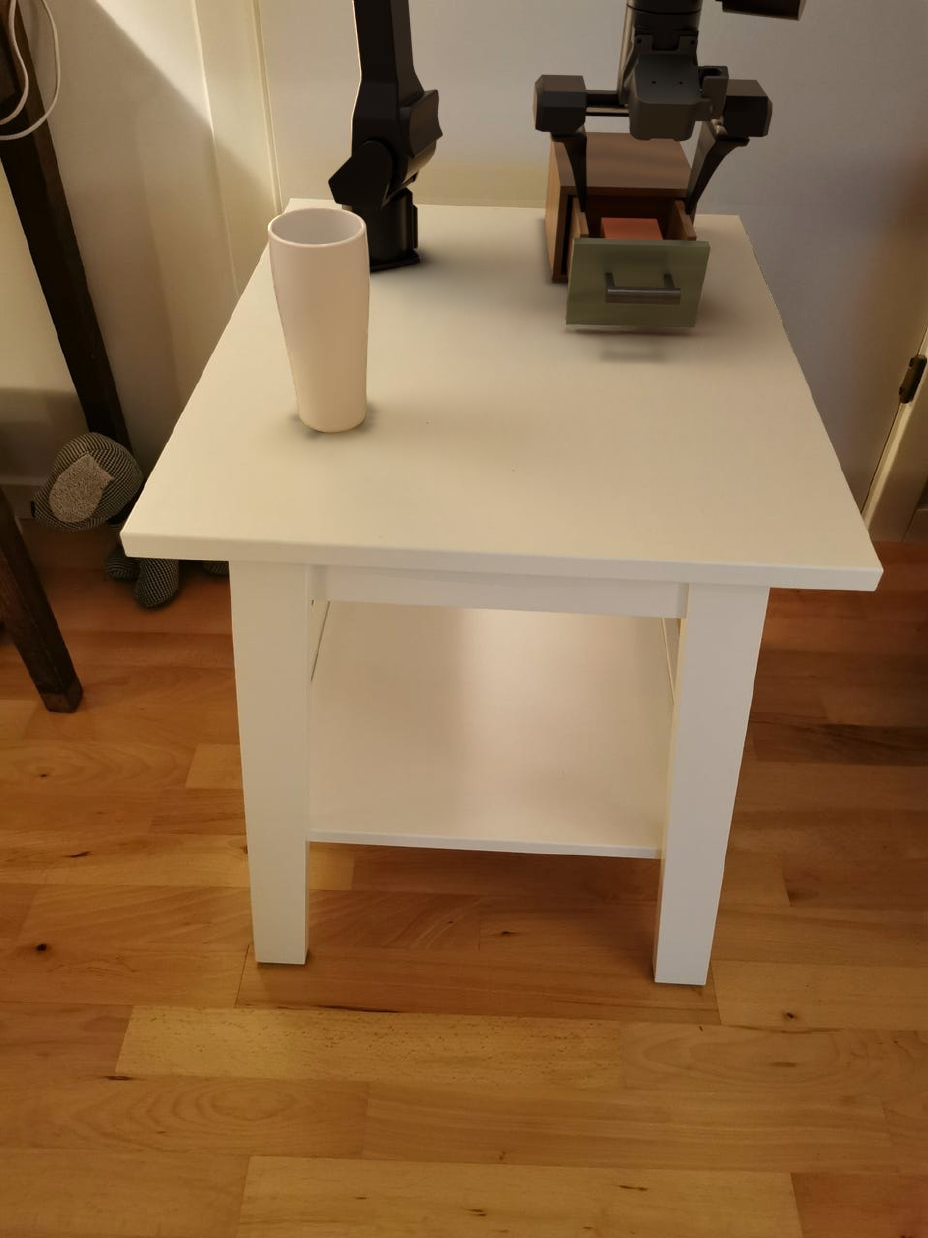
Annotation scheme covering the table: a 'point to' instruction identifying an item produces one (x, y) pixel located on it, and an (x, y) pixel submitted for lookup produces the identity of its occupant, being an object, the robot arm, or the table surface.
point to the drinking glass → (324, 311)
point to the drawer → (633, 265)
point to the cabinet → (611, 180)
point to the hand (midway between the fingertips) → (634, 211)
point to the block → (630, 229)
